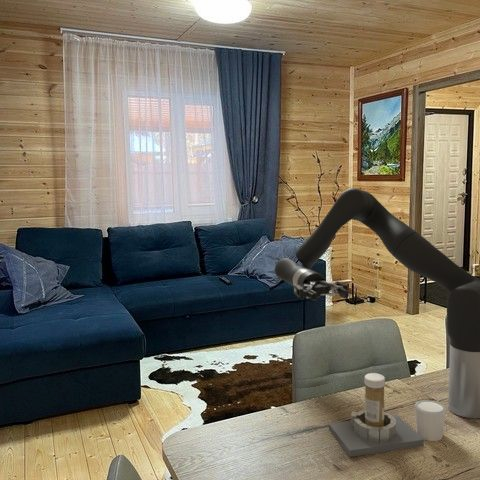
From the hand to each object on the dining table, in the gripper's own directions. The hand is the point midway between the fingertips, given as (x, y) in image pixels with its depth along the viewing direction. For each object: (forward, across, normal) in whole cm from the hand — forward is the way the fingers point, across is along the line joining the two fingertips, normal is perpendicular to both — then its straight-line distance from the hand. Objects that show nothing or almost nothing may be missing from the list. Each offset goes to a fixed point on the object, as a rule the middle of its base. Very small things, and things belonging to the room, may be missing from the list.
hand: (331, 295), depth 127 cm
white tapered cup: (+22, +16, +30) cm, 40 cm away
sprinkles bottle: (+19, +2, +28) cm, 34 cm away
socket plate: (+20, +2, +29) cm, 35 cm away
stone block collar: (+20, +2, +28) cm, 34 cm away
